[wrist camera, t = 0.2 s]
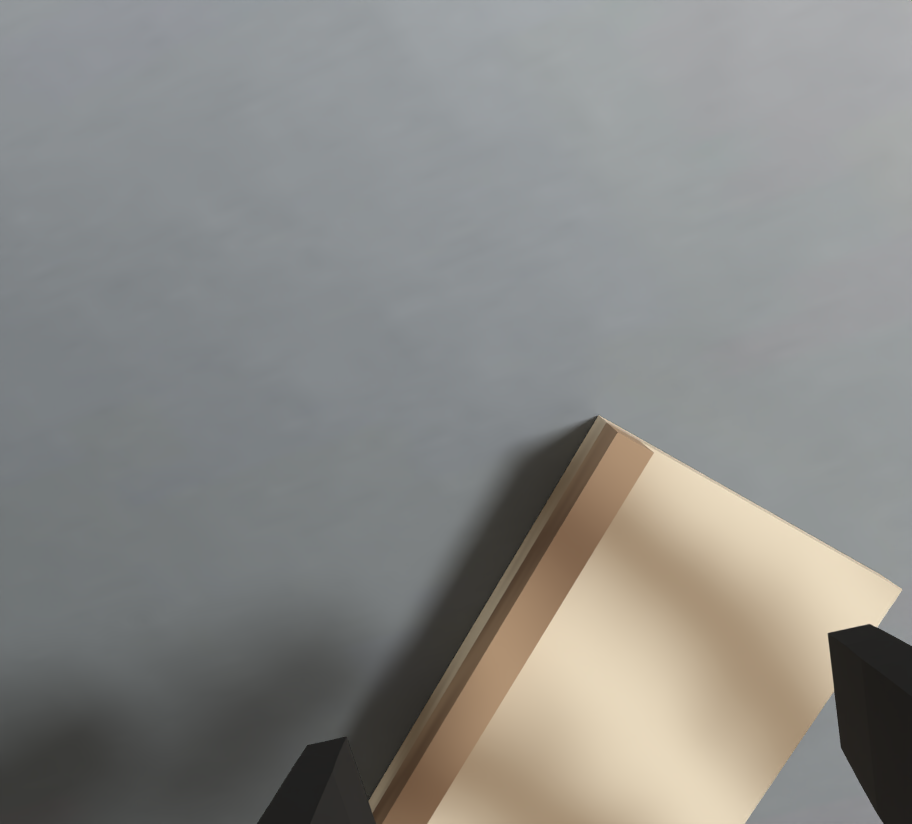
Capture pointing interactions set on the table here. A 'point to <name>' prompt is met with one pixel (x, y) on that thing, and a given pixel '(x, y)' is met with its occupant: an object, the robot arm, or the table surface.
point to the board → (634, 657)
